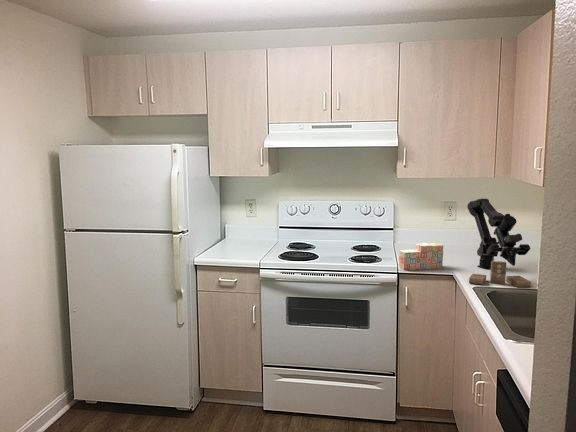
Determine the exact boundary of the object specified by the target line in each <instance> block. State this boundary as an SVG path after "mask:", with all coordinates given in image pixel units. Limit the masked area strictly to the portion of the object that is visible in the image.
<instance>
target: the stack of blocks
mask: <svg viewBox="0 0 576 432" xmlns="http://www.w3.org/2000/svg"><path fill="white" fill-rule="evenodd" d="M398 259H399V260H398V267H399V268H400V269H401V270H403V271H411V270H413V271H414V270H431V269H432V270H433V269H443V264H444V263H443V259H444V245H443V244H441V243H437V242H436V243H435V242H434V243H432V242H430V243H429V242H426V243H416V244H415V249H400V250H399V258H398Z"/></svg>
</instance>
